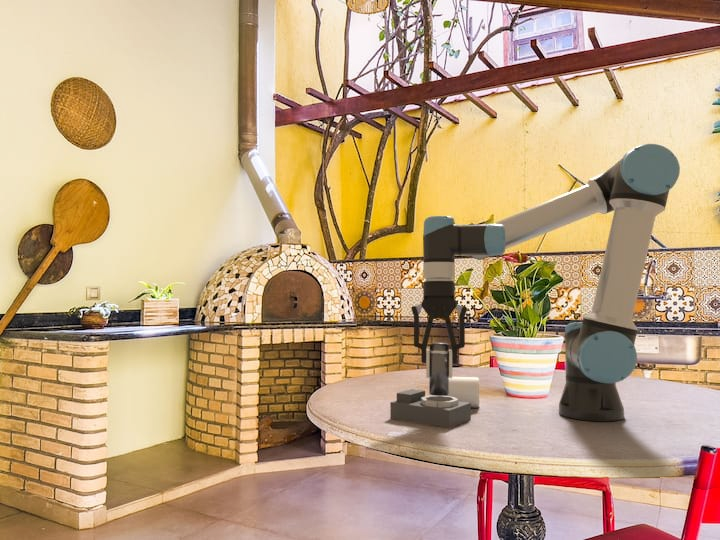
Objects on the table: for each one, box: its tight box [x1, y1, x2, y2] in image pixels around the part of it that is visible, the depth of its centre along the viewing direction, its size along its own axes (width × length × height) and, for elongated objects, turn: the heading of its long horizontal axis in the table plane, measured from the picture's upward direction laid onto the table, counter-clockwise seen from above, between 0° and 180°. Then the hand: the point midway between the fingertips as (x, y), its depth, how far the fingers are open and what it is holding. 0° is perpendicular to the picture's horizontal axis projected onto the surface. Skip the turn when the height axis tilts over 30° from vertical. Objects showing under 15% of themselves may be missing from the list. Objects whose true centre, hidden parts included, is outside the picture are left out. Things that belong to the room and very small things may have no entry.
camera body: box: [389, 388, 472, 429], centre depth 136 cm, size 16×11×6 cm
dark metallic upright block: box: [428, 342, 450, 396], centre depth 135 cm, size 5×5×12 cm
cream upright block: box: [446, 376, 480, 409], centre depth 153 cm, size 12×10×8 cm
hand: (439, 376), depth 135 cm, fingers closed on dark metallic upright block, 5 cm apart
